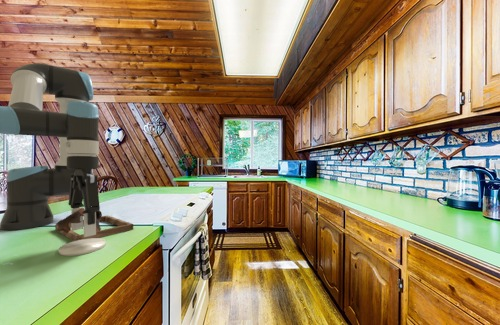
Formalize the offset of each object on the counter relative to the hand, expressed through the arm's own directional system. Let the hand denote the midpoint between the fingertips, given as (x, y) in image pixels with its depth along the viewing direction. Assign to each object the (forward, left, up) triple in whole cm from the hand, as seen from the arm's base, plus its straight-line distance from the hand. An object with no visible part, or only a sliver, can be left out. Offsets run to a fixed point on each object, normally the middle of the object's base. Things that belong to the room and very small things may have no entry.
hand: (83, 232), depth 66 cm
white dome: (0, 0, -5) cm, 5 cm away
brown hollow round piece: (-1, 0, 0) cm, 1 cm away
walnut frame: (-18, +9, -5) cm, 20 cm away
